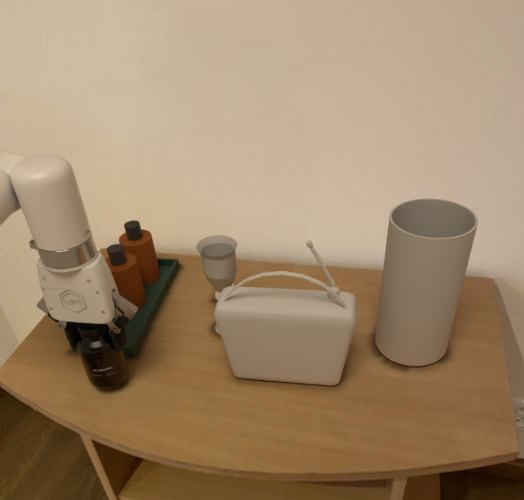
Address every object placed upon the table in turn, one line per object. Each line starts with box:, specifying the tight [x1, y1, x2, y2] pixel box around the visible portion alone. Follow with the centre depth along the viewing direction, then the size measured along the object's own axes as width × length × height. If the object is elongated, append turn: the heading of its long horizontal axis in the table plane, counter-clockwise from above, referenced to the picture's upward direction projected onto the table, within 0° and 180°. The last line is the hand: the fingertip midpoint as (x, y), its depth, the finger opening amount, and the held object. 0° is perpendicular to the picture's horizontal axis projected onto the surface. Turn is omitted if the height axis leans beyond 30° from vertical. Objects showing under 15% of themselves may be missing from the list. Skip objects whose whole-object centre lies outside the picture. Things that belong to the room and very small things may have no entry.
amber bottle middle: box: [104, 243, 147, 313], centre depth 101 cm, size 7×7×13 cm
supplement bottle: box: [76, 322, 129, 389], centre depth 83 cm, size 7×7×12 cm
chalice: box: [195, 234, 238, 335], centre depth 92 cm, size 7×7×18 cm
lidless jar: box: [214, 283, 235, 301], centre depth 105 cm, size 5×3×5 cm
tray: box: [71, 257, 181, 357], centre depth 105 cm, size 30×12×2 cm, turn 171°
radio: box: [213, 239, 358, 387], centre depth 81 cm, size 22×8×25 cm, turn 80°
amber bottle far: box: [118, 219, 161, 286], centre depth 108 cm, size 7×7×13 cm
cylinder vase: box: [374, 198, 479, 367], centre depth 83 cm, size 12×12×25 cm
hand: (99, 344), depth 83 cm, fingers closed on supplement bottle, 6 cm apart
